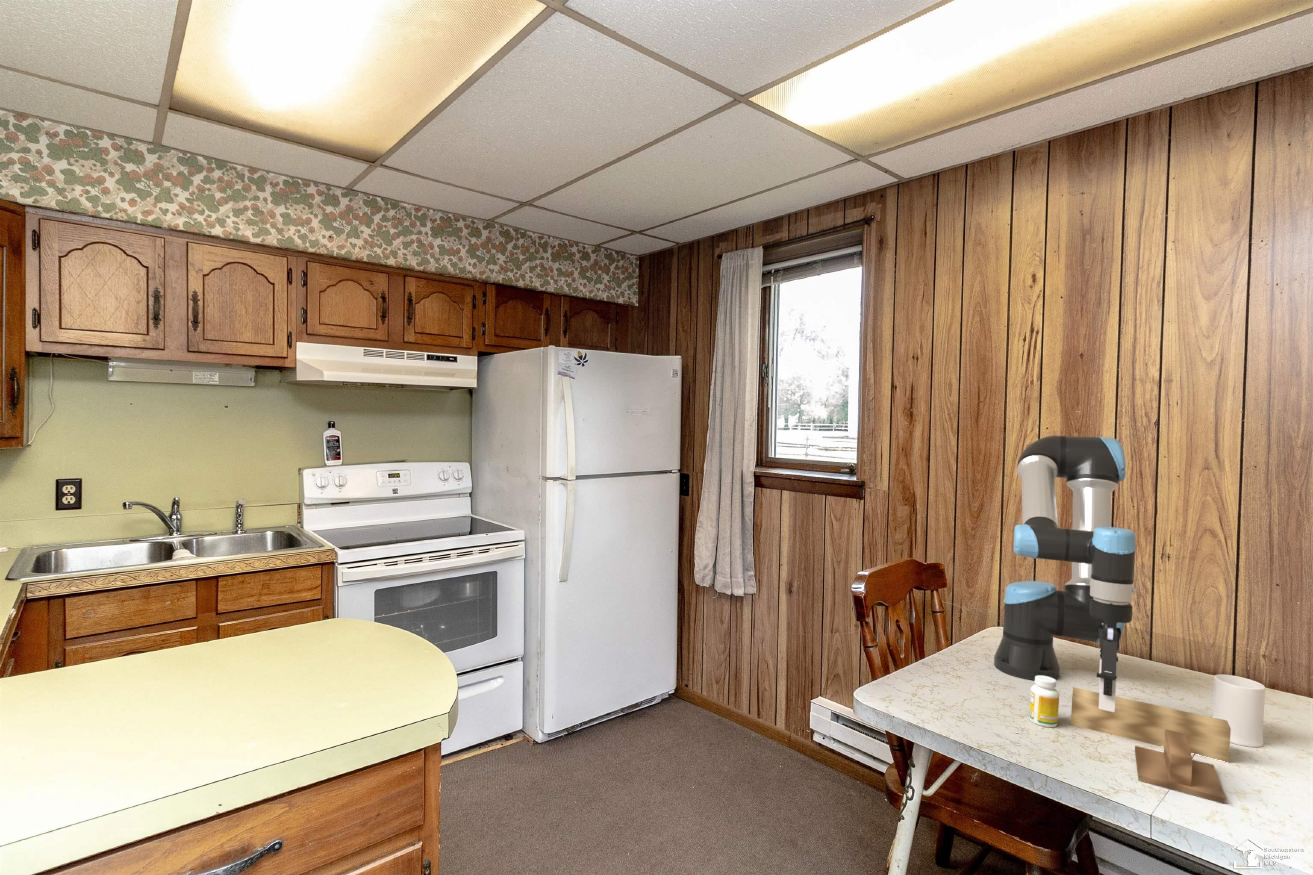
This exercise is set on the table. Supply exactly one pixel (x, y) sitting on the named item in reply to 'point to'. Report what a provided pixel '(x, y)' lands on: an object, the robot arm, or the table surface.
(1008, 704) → the table surface
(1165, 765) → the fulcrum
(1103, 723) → the plank
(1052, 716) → the supplement bottle
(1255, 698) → the mug
